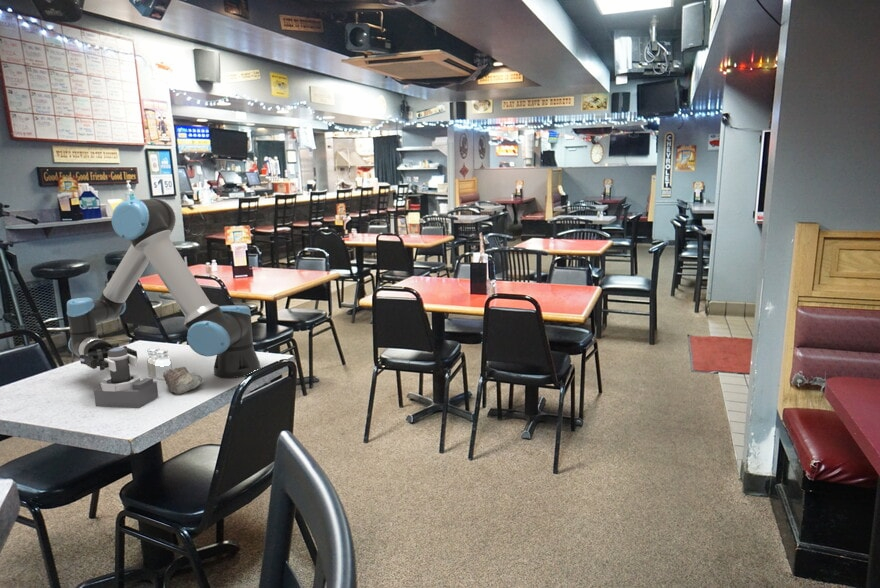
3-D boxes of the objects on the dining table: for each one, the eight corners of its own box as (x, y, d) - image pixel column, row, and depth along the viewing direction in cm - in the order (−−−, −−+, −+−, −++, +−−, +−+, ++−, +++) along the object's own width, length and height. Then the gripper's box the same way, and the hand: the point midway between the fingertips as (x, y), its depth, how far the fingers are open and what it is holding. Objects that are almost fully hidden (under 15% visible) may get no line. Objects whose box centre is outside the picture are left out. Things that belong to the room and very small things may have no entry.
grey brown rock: (208, 382, 182) (186, 358, 179) (183, 403, 178) (160, 379, 175) (200, 378, 194) (180, 356, 191) (176, 398, 190) (155, 375, 187)
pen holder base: (159, 396, 178) (156, 375, 177) (138, 408, 169) (135, 386, 167) (117, 394, 180) (115, 373, 179) (94, 406, 171) (91, 384, 169)
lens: (135, 383, 176) (131, 347, 174) (123, 388, 171) (119, 351, 169) (119, 382, 177) (115, 346, 174) (107, 388, 171) (102, 351, 169)
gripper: (128, 355, 192) (158, 369, 176) (65, 369, 178) (92, 385, 163) (125, 333, 190) (155, 345, 175) (61, 345, 177) (88, 359, 162)
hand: (125, 364), depth 169 cm, fingers closed on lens, 5 cm apart
